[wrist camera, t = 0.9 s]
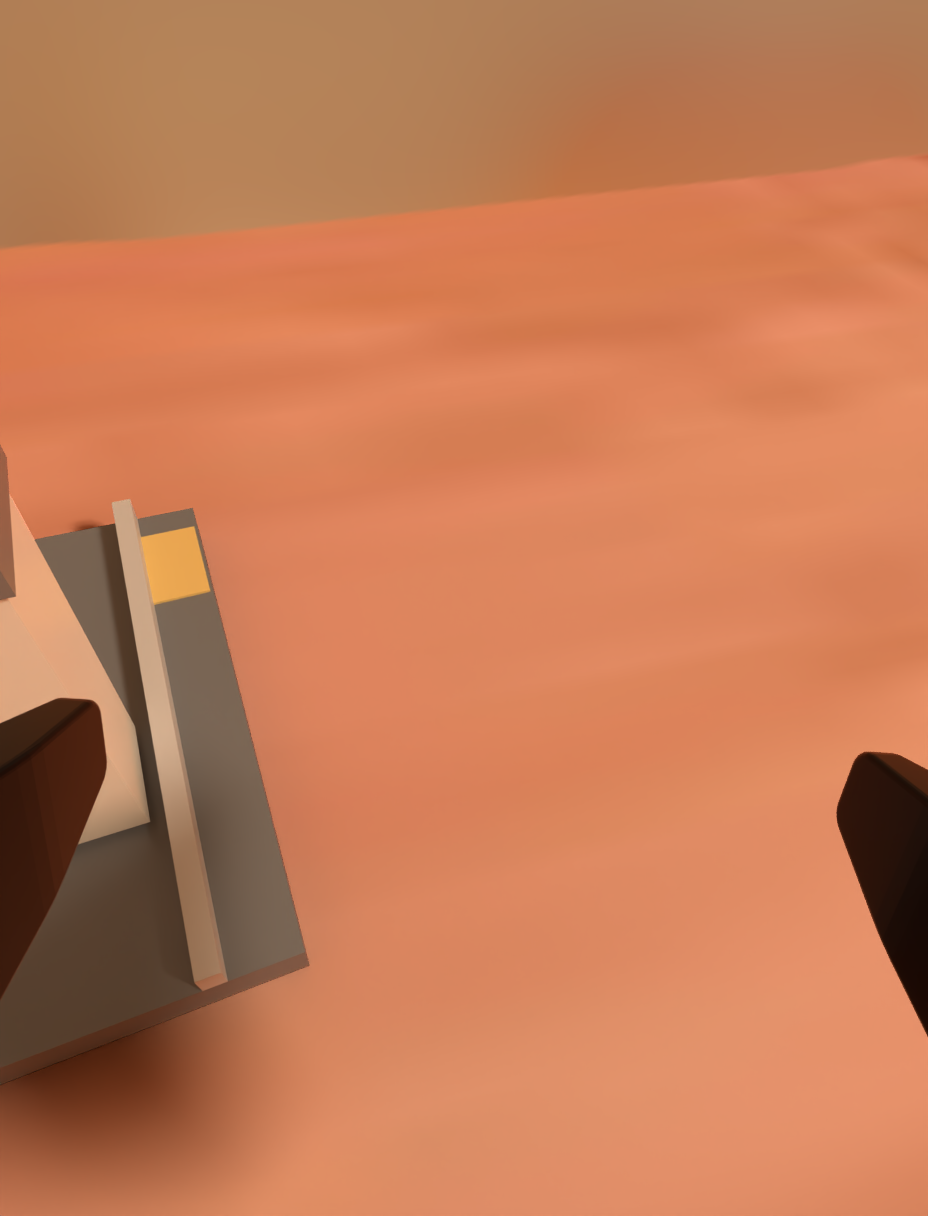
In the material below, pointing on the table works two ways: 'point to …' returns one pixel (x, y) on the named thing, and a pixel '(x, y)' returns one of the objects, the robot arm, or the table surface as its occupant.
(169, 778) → the grey railed base plate
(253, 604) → the table surface
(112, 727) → the fader knob
